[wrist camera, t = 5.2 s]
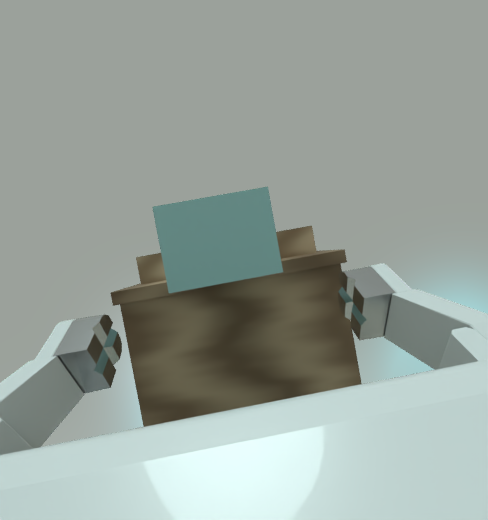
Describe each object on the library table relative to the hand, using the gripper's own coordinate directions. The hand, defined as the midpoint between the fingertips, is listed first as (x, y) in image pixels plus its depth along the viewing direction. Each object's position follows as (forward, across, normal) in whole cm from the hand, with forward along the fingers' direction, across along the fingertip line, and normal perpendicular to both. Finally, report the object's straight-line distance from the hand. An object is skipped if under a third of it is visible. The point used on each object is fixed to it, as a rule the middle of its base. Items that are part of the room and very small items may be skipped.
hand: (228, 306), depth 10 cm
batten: (+9, 0, +4) cm, 10 cm away
